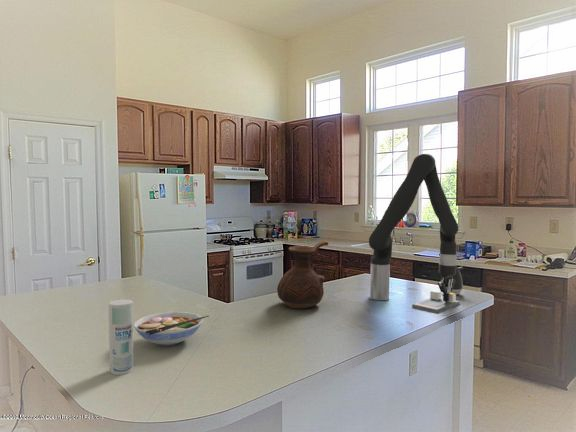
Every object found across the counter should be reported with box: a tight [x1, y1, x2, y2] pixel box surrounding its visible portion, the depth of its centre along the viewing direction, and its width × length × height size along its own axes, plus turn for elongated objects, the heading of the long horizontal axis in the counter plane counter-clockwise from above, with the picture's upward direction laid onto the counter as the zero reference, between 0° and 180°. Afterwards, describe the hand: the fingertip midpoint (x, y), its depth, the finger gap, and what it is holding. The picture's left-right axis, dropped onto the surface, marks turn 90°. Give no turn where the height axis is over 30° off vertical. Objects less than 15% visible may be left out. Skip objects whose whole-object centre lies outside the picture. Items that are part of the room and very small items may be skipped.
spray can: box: [107, 299, 134, 376], centre depth 122 cm, size 6×6×20 cm
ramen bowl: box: [133, 311, 210, 347], centre depth 146 cm, size 25×23×8 cm
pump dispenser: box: [450, 266, 464, 296], centre depth 218 cm, size 10×10×15 cm
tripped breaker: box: [447, 293, 457, 303], centre depth 197 cm, size 3×4×4 cm
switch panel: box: [411, 296, 461, 314], centre depth 196 cm, size 22×12×2 cm, turn 133°
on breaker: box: [429, 289, 442, 300], centre depth 202 cm, size 3×4×4 cm
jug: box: [276, 239, 329, 310], centre depth 194 cm, size 22×22×30 cm
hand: (446, 301), depth 195 cm, fingers closed
